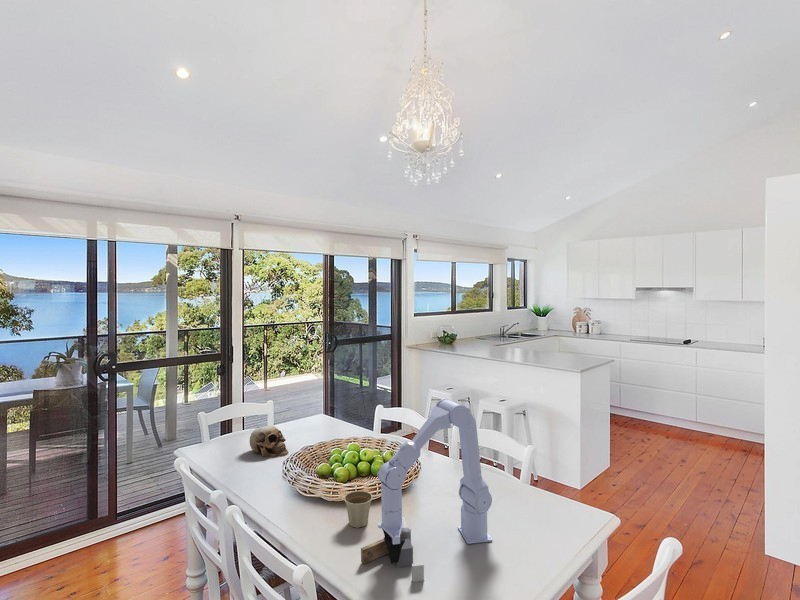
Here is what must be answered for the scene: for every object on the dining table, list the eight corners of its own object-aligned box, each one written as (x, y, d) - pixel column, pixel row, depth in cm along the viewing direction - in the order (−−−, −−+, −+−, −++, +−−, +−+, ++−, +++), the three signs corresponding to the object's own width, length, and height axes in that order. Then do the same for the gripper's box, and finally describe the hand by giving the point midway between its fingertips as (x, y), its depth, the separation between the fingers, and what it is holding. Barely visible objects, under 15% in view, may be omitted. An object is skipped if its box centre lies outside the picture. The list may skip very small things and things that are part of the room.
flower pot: (373, 515, 147) (373, 490, 147) (372, 530, 137) (372, 503, 137) (345, 516, 147) (345, 490, 146) (343, 531, 137) (342, 504, 137)
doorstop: (394, 558, 123) (393, 540, 123) (409, 556, 124) (409, 538, 124) (397, 568, 119) (396, 550, 119) (413, 565, 120) (412, 547, 119)
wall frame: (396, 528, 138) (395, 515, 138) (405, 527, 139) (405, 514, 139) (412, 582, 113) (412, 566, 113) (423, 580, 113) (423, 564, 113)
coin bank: (288, 455, 202) (285, 427, 202) (250, 463, 198) (246, 435, 197) (288, 445, 217) (284, 419, 217) (252, 452, 213) (248, 426, 212)
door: (399, 544, 129) (399, 531, 129) (404, 548, 127) (404, 535, 127) (361, 562, 121) (360, 548, 121) (365, 566, 119) (365, 551, 119)
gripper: (374, 496, 127) (375, 542, 127) (381, 522, 113) (382, 573, 113) (398, 494, 128) (398, 539, 128) (407, 519, 114) (408, 569, 114)
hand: (392, 555), depth 121 cm, fingers open, 6 cm apart
